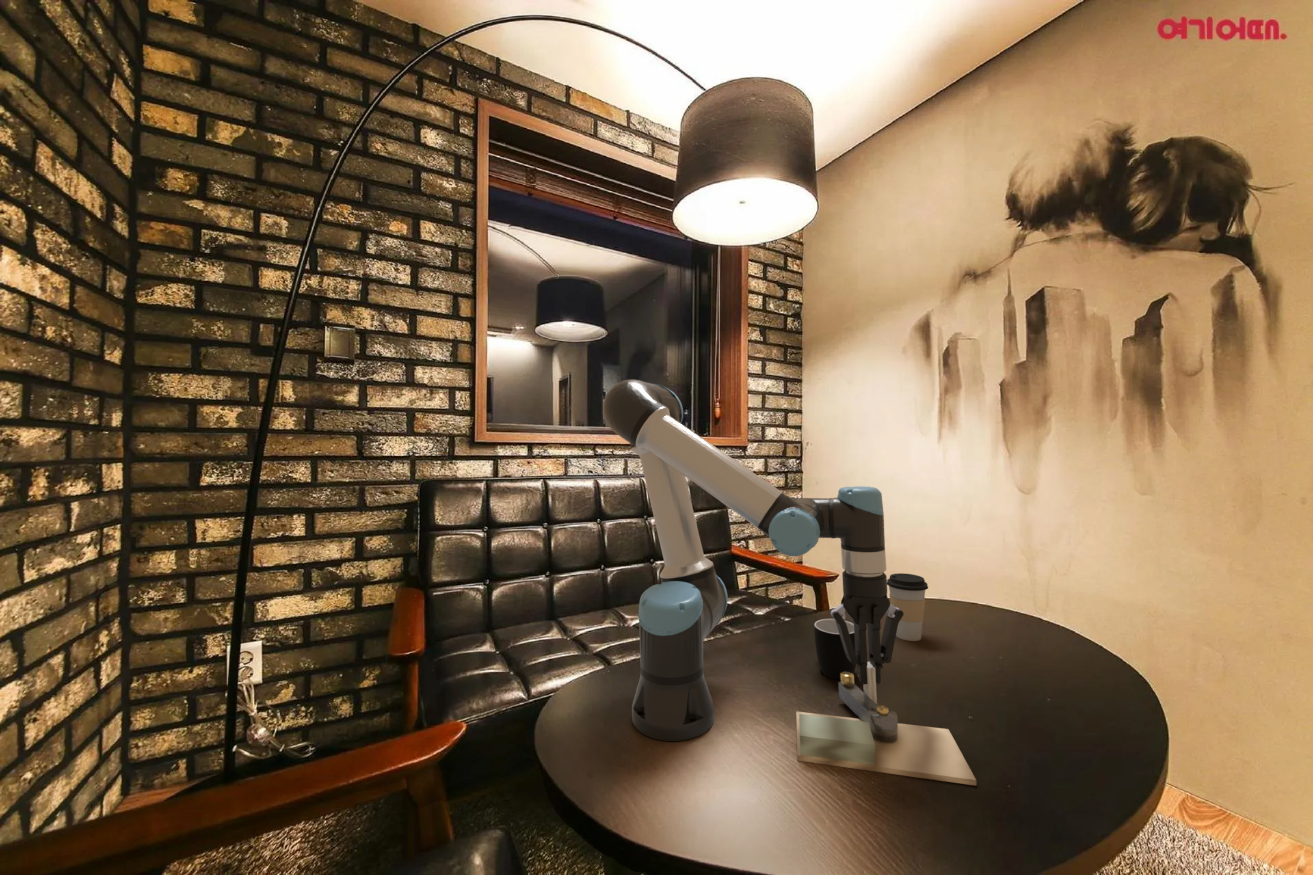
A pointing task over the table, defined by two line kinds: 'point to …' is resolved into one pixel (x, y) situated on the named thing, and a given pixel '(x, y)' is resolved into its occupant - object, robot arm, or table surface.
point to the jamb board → (881, 748)
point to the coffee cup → (908, 603)
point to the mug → (832, 648)
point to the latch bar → (868, 710)
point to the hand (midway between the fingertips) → (870, 700)
